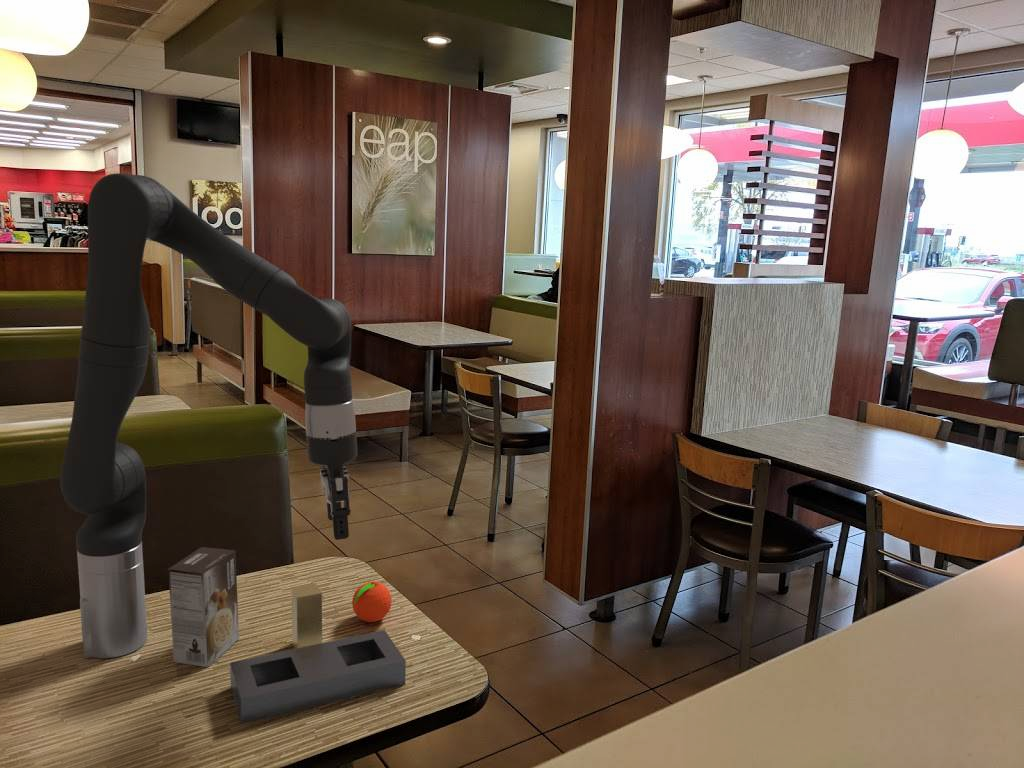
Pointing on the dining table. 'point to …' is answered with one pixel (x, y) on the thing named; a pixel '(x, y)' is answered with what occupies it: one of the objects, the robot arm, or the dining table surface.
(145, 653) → the dining table surface
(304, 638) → the peg
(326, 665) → the rail
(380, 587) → the clementine
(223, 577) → the coffee box
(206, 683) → the dining table surface
